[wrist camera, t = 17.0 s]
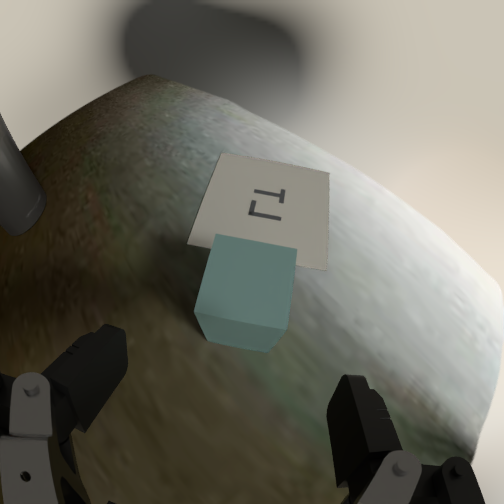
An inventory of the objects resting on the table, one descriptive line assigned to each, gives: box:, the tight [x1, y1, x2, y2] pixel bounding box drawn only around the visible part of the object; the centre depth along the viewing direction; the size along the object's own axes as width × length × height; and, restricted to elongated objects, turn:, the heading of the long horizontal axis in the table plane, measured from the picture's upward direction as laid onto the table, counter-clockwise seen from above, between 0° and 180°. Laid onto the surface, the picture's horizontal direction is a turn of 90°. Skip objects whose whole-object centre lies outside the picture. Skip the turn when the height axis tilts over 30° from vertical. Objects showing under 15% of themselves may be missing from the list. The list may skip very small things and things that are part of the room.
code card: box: [187, 153, 329, 271], centre depth 34 cm, size 16×16×1 cm
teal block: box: [194, 234, 297, 353], centre depth 23 cm, size 6×6×10 cm
